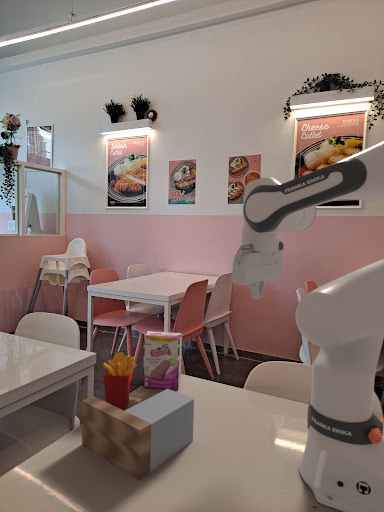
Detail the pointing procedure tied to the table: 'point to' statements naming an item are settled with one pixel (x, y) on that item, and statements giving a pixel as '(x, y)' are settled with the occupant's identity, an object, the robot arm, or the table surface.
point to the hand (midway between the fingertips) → (257, 298)
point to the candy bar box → (162, 360)
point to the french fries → (118, 380)
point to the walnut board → (116, 436)
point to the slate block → (166, 423)
